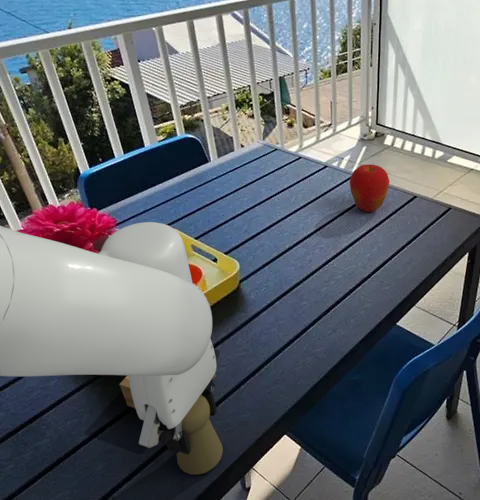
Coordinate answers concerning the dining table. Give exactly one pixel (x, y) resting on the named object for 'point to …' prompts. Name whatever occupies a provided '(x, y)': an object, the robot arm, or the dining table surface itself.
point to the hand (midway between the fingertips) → (192, 428)
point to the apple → (369, 187)
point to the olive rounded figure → (200, 440)
